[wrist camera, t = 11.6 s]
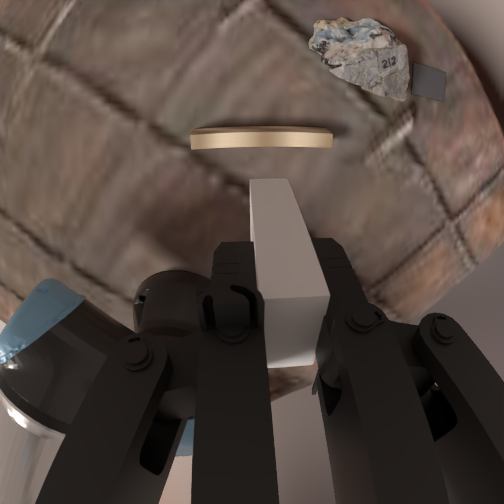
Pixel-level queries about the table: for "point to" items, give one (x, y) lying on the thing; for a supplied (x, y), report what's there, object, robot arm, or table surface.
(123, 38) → the table surface
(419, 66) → the dark gray rectangular slab
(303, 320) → the robot arm
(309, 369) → the table surface
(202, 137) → the wooden slats
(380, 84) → the mineral specimen
